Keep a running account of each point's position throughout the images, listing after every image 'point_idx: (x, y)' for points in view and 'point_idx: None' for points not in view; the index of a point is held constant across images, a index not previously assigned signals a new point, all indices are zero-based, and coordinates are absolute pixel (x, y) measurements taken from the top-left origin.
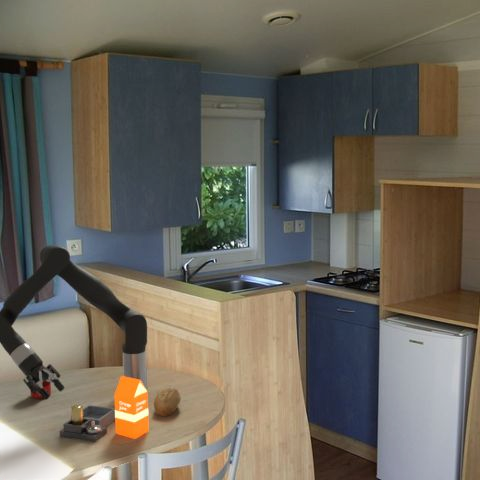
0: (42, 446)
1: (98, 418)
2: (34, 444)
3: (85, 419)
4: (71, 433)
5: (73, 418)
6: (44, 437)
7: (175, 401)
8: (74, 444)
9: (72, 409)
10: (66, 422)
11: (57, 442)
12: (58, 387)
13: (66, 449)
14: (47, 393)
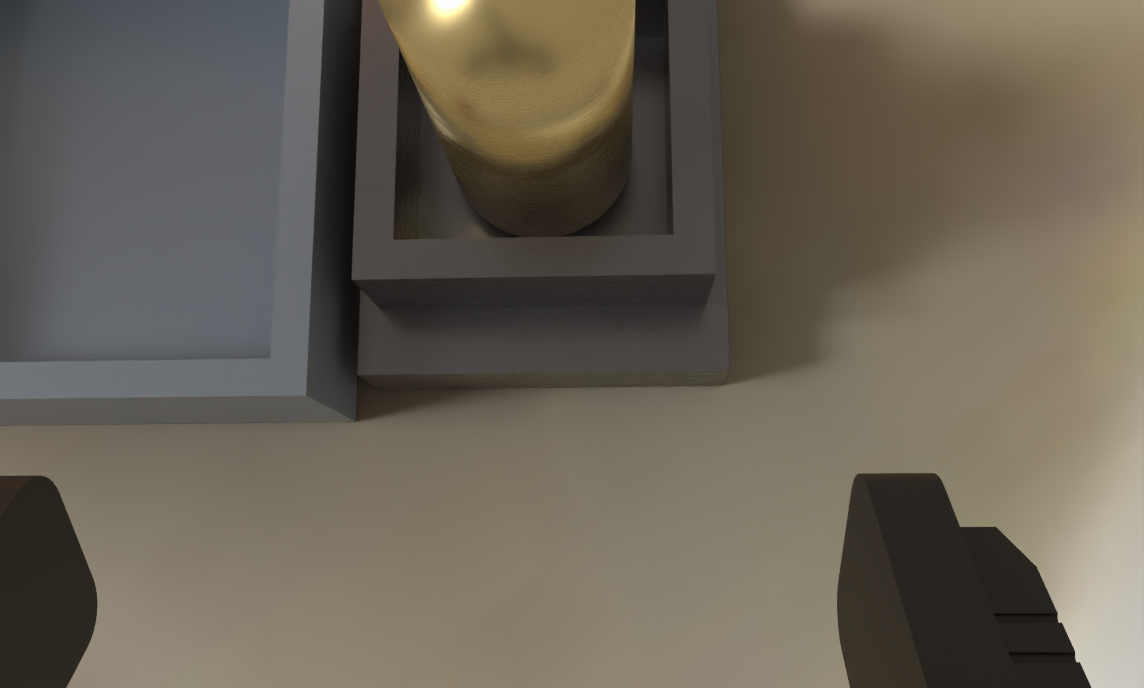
0: (1107, 421)
1: (38, 153)
2: (1103, 581)
3: (398, 52)
4: (721, 157)
5: (631, 80)
6: (832, 590)
7: None
8: (864, 44)
9: (627, 5)
10: (629, 268)
11: (903, 297)
12: (19, 685)
13: (1040, 52)
14: (928, 550)
